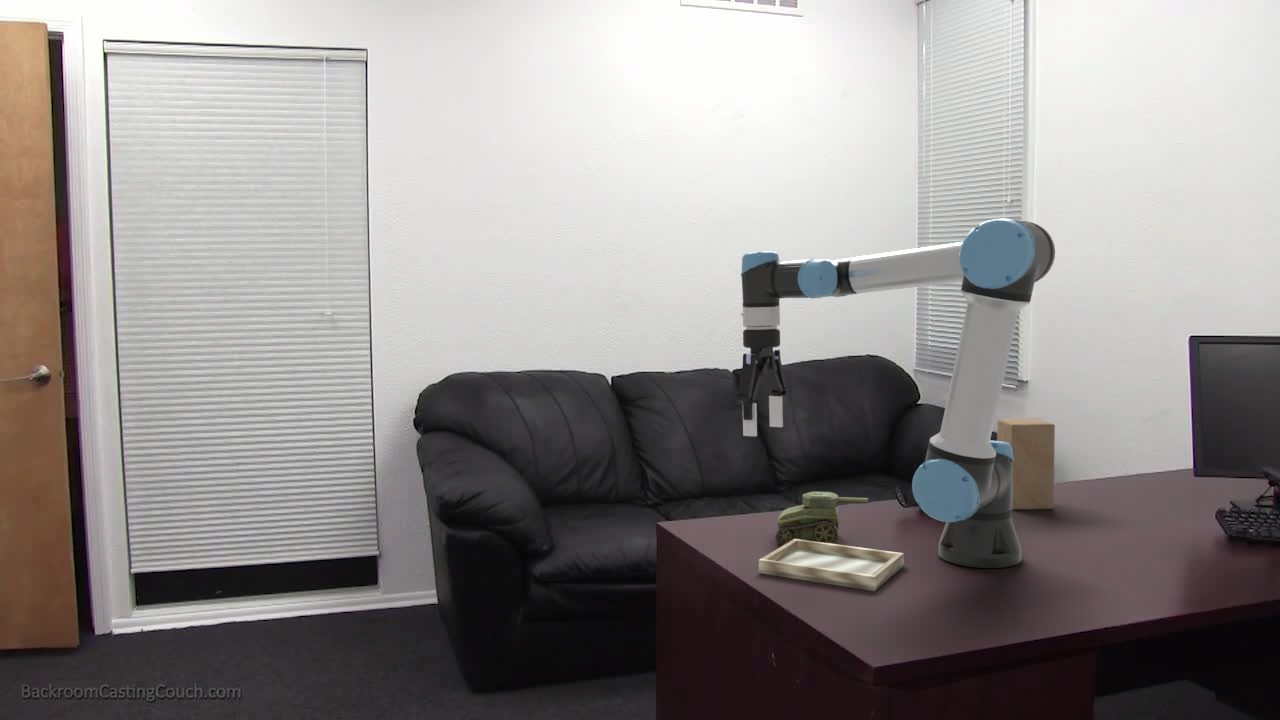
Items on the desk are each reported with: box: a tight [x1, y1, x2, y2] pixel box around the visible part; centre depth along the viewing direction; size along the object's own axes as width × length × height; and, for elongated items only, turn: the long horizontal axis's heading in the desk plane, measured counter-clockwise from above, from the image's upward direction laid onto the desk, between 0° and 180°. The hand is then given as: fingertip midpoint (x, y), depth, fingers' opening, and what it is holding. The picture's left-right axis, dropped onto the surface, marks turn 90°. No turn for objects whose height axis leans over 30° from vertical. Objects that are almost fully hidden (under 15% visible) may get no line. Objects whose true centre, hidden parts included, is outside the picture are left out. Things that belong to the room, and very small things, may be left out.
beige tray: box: [758, 539, 905, 592], centre depth 185 cm, size 22×17×2 cm
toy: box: [775, 491, 869, 546], centre depth 205 cm, size 10×18×10 cm, turn 78°
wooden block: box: [996, 417, 1056, 511], centre depth 233 cm, size 10×10×20 cm
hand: (763, 431), depth 203 cm, fingers open, 13 cm apart
